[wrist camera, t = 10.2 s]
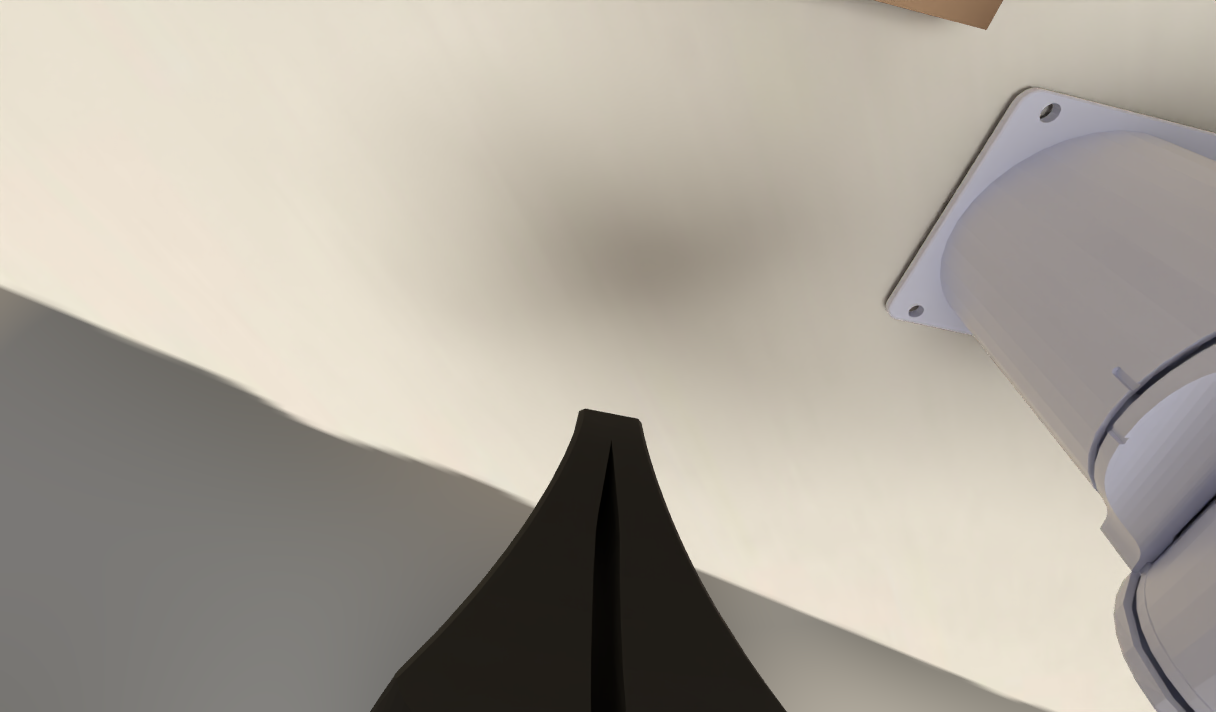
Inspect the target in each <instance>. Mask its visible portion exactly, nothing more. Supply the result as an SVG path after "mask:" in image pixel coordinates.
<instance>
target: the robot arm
mask: <svg viewBox="0 0 1216 712" xmlns="http://www.w3.org/2000/svg"><path fill="white" fill-rule="evenodd" d="M1050 104H1053V108H1052V110H1051V112H1050V113H1049V114H1048V115H1047V116H1046V117H1044V118H1042V119H1040V114H1041V112H1042V110H1043V109H1044V108H1045V107H1046V106H1048V105H1050ZM916 305H919V307H918V308H917V309H916V310H914V311H909V310H910V309H911V308H912V307H914V306H916ZM886 310H887V312H888V313H889V315H890V316H891V317H892V318H895V319H898V320H903V321H908V322H912V323H917V324H921V325H926V326H931V327H935V328H940V329H945V330H949V331H954V332H959V333H963V334H968V335H972V336H974V337H975V338H976V339H977V341H978V342H979V343H980V344H981V346H982V347H983V348H984V350H985V351H986V352H987V353H988V355H989V356H990V357H991V358H992V360H993V361H994V362H995V363H996V365H997V366H998V367H999V368H1000V370H1001V371H1002V372H1003V374H1004V375H1005V376H1006V377H1007V379H1008V380H1009V381H1010V382H1011V384H1012V385H1013V386H1014V387H1015V389H1016V390H1017V391H1018V392H1019V394H1020V395H1021V396H1022V398H1023V399H1024V400H1025V401H1026V403H1027V404H1028V405H1029V406H1030V408H1031V409H1032V410H1033V411H1034V413H1035V414H1036V415H1037V416H1038V418H1039V419H1040V420H1041V422H1042V423H1043V424H1044V425H1045V427H1046V428H1047V429H1048V430H1049V432H1050V433H1051V434H1052V435H1053V437H1054V438H1055V439H1056V440H1057V442H1058V443H1059V444H1060V446H1061V447H1062V448H1063V449H1064V451H1065V452H1066V453H1067V454H1068V456H1069V457H1070V458H1071V459H1072V461H1073V462H1074V463H1075V464H1076V466H1077V467H1078V468H1079V469H1080V471H1081V472H1082V473H1083V475H1084V476H1085V477H1086V478H1087V480H1088V481H1089V482H1090V483H1091V485H1092V486H1093V487H1094V488H1095V489H1096V490H1097V491H1098V493H1099V494H1100V495H1101V497H1102V498H1103V500H1104V502H1105V504H1106V506H1107V517H1106V520H1105V521H1104V523H1103V524H1102V526H1101V528H1100V529H1101V531H1102V532H1103V533H1104V535H1105V536H1106V537H1107V539H1108V540H1109V541H1110V543H1111V544H1112V545H1113V547H1114V548H1115V549H1116V551H1117V552H1118V553H1119V555H1120V556H1121V558H1122V559H1123V560H1124V562H1125V563H1126V564H1127V566H1128V567H1129V568H1130V570H1131V571H1132V572H1131V573H1130V574H1129V575H1128V576H1127V577H1126V578H1125V579H1124V581H1123V582H1122V584H1121V586H1120V588H1119V591H1118V593H1117V595H1116V600H1115V608H1114V622H1115V630H1116V636H1117V639H1118V642H1119V645H1120V648H1121V651H1122V654H1123V657H1124V659H1125V661H1126V663H1127V664H1128V666H1129V668H1130V670H1131V672H1132V674H1133V676H1134V678H1135V680H1136V682H1137V683H1138V685H1139V686H1140V688H1141V689H1142V691H1143V692H1144V694H1145V695H1146V697H1147V698H1148V700H1149V701H1150V703H1151V704H1152V706H1153V707H1154V709H1155V710H1156V711H1157V712H1216V133H1214V132H1210V131H1206V130H1202V129H1199V128H1195V127H1191V126H1187V125H1183V124H1179V123H1175V122H1171V121H1167V120H1163V119H1160V118H1156V117H1152V116H1148V115H1144V114H1140V113H1136V112H1132V111H1128V110H1124V109H1121V108H1117V107H1113V106H1109V105H1105V104H1101V103H1097V102H1093V101H1089V100H1085V99H1082V98H1078V97H1074V96H1070V95H1066V94H1062V93H1058V92H1054V91H1050V90H1046V89H1043V88H1030V89H1027V90H1024V91H1023V92H1022V93H1020V94H1019V95H1017V97H1016V98H1015V99H1014V100H1013V101H1012V103H1011V104H1010V106H1009V107H1008V109H1007V111H1006V112H1005V114H1004V115H1003V117H1002V119H1001V120H1000V122H999V123H998V125H997V127H996V128H995V130H994V131H993V133H992V135H991V136H990V138H989V139H988V141H987V143H986V144H985V146H984V147H983V149H982V151H981V152H980V154H979V155H978V157H977V158H976V160H975V162H974V163H973V165H972V166H971V168H970V170H969V171H968V173H967V174H966V176H965V178H964V179H963V181H962V182H961V184H960V186H959V187H958V189H957V190H956V192H955V194H954V195H953V197H952V198H951V200H950V202H949V203H948V205H947V206H946V208H945V210H944V211H943V213H942V214H941V216H940V217H939V219H938V221H937V222H936V224H935V225H934V227H933V229H932V230H931V232H930V233H929V235H928V237H927V238H926V240H925V241H924V243H923V245H922V246H921V248H920V249H919V251H918V253H917V254H916V256H915V257H914V259H913V261H912V262H911V264H910V265H909V267H908V269H907V270H906V272H905V273H904V275H903V276H902V278H901V280H900V281H899V283H898V284H897V286H896V288H895V289H894V291H893V292H892V294H891V296H890V297H889V299H888V300H887V303H886ZM370 712H786V710H785V709H784V708H783V706H782V705H781V704H780V702H779V701H778V700H777V698H776V697H775V695H774V694H773V693H772V691H771V690H770V689H769V687H768V686H767V685H766V683H765V682H764V680H763V679H762V678H761V676H760V675H759V673H758V672H757V670H756V669H755V668H754V666H753V665H752V663H751V662H750V660H749V659H748V657H747V656H746V654H745V653H744V652H743V650H742V648H741V647H740V645H739V643H738V642H737V640H736V639H735V637H734V635H733V634H732V632H731V631H730V629H729V628H728V626H727V624H726V623H725V621H724V620H723V618H722V617H721V615H720V613H719V612H718V610H717V608H716V607H715V606H714V603H713V601H712V600H711V598H710V596H709V594H708V593H707V591H706V589H705V587H704V585H703V584H702V582H701V580H700V578H699V576H698V574H697V572H696V570H695V568H694V566H693V564H692V562H691V560H690V558H689V556H688V554H687V552H686V550H685V548H684V546H683V543H682V541H681V539H680V537H679V534H678V532H677V530H676V528H675V525H674V523H673V521H672V518H671V516H670V513H669V511H668V508H667V506H666V503H665V500H664V498H663V495H662V492H661V489H660V487H659V484H658V481H657V478H656V475H655V472H654V469H653V466H652V463H651V459H650V456H649V452H648V449H647V445H646V441H645V437H644V433H643V428H642V423H641V422H640V421H639V419H636V418H631V417H626V416H621V415H615V414H610V413H605V412H600V411H595V410H590V409H583V410H581V411H579V414H578V418H577V422H576V426H575V431H574V434H573V436H572V439H571V441H570V444H569V446H568V448H567V450H566V453H565V455H564V457H563V459H562V461H561V463H560V465H559V467H558V469H557V471H556V472H555V474H554V476H553V478H552V480H551V482H550V484H549V485H548V487H547V489H546V490H545V492H544V494H543V495H542V497H541V499H540V500H539V502H538V503H537V505H536V507H535V508H534V510H533V512H532V513H531V515H530V516H529V518H528V519H527V521H526V522H525V524H524V525H523V527H522V528H521V530H520V531H519V533H518V534H517V535H516V537H515V538H514V539H513V541H512V542H511V544H510V545H509V546H508V548H507V549H506V550H505V552H504V553H503V554H502V556H501V557H500V558H499V559H498V561H497V562H496V563H495V565H494V566H493V567H492V568H491V570H490V571H489V572H488V574H487V575H486V576H485V577H484V578H483V580H482V581H481V582H480V583H479V584H478V586H477V587H476V588H475V589H474V590H473V592H472V593H471V594H470V595H469V596H468V597H467V598H466V600H465V601H464V602H463V603H462V604H461V605H460V606H459V608H458V609H457V610H456V611H455V612H454V613H453V614H452V615H451V616H450V618H449V619H448V620H447V621H446V622H445V623H444V624H443V625H442V626H441V627H440V629H439V630H438V631H437V632H436V633H435V634H434V635H433V636H432V637H431V638H430V639H429V640H428V641H427V642H426V643H425V644H424V645H423V646H422V647H421V648H420V649H419V650H418V651H417V652H416V653H415V654H414V655H413V656H412V657H411V658H410V659H409V660H408V661H407V662H406V663H405V664H404V665H403V666H402V667H401V668H400V669H399V670H398V671H397V673H396V674H395V676H394V677H393V679H392V680H391V682H390V683H389V684H388V686H387V688H386V689H385V690H384V692H383V693H382V695H381V696H380V698H379V699H378V701H377V702H376V704H375V705H374V707H373V708H372V710H371V711H370Z"/></svg>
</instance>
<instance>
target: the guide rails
mask: <svg viewBox="0 0 1216 712" xmlns="http://www.w3.org/2000/svg"><path fill="white" fill-rule="evenodd" d="M875 1H879V2H883V3H886V4H890V5H894V6H898V7H902V8H905V9H909V10H913V11H917V12H921V13H924V14H928V15H932V16H936V17H940V18H943V19H947V20H951V21H955V22H959V23H962V24H966V25H970V26H974V27H978V28H981V29H985V30H987V28H988V26H989V24H990V23H991V21H992V19H993V17H994V15H995V14H996V12H997V10H998V8H999V6H1000V5H1001V3H1002V1H1003V0H875Z"/></svg>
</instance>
